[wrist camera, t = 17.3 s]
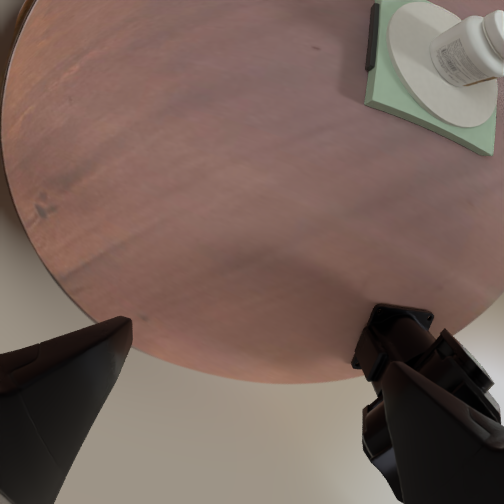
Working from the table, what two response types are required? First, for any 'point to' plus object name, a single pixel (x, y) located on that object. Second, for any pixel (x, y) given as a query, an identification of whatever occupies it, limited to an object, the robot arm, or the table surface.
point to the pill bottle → (471, 50)
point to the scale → (424, 76)
